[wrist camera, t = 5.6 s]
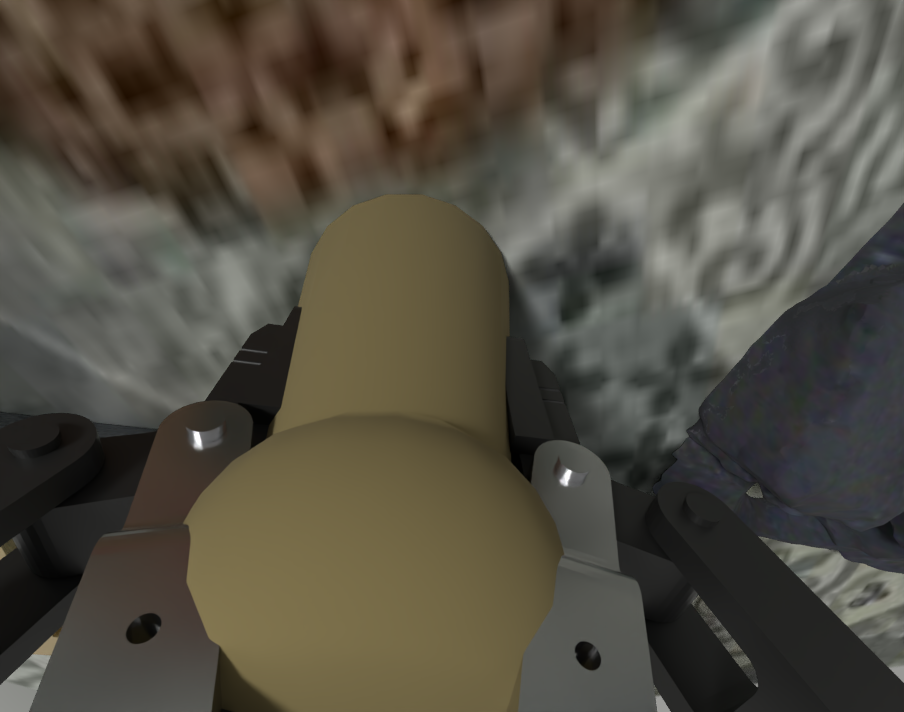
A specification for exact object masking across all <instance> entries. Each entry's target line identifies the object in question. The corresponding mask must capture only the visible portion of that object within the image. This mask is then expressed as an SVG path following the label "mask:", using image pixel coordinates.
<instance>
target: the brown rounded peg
mask: <svg viewBox="0 0 904 712" xmlns="http://www.w3.org/2000/svg"><path fill="white" fill-rule="evenodd" d="M298 307H302V311H301V316H300V320H299V325H298V330H297V335H296V339H295V344H294V349H293V353H292V358H291V363H290V368H289V372H288V377H287V382H286V387H285V391H284V396H283V401H282V405H281V408H280V410H279V411H278V413H277V414H276V416H275V417H274V419H273V420H272V422H271V423H270V424H269V428H268V432H267V436H266V439H265V440H264V441H263V442H261V443H260V444H258V445H256V446H255V447H253V448H252V449H250V450H249V451H247V452H246V453H244V454H243V455H241V456H239V457H238V458H236V459H235V460H233V461H232V462H231V463H230V464H229V465H228V466H227V467H226V468H225V469H224V470H223V471H222V472H221V473H220V474H219V475H218V477H217V478H216V479H215V480H214V481H213V482H212V483H211V484H210V485H209V486H208V487H207V488H206V489H205V490H204V491H203V492H202V493H201V494H200V496H199V497H198V499H197V501H196V502H195V504H194V505H193V507H192V508H191V510H190V512H189V513H188V515H187V517H186V519H185V520H184V522H183V524H187V525H188V526H189V531H190V536H191V542H190V552H189V562H188V571H187V580H186V582H187V585H188V587H189V590H190V592H191V595H192V597H193V600H194V602H195V605H196V607H197V610H198V612H199V615H200V617H201V620H202V622H203V625H204V627H205V630H206V632H207V635H208V637H209V639H210V640H212V641H213V642H215V643H216V644H218V645H219V646H220V680H221V694H222V707H221V708H222V709H225V710H229V711H233V712H507V707H508V705H509V702H510V699H511V695H512V692H513V689H514V685H515V682H516V678H517V675H518V671H519V668H520V664H521V661H522V657H523V653H524V652H525V650H526V649H527V647H528V645H529V644H530V642H531V640H532V639H533V637H534V636H535V634H536V632H537V631H538V629H539V627H540V626H541V624H542V623H543V621H544V619H545V618H546V616H547V614H548V613H549V611H550V610H551V608H552V606H553V599H554V590H555V581H556V572H557V567H558V564H559V561H560V560H561V556H562V555H564V551H563V547H562V544H561V540H560V537H559V534H558V530H557V527H556V524H555V522H554V520H553V518H552V516H551V515H550V513H549V511H548V510H547V508H546V506H545V505H544V503H543V501H542V499H541V498H540V496H539V494H538V493H537V491H536V489H535V488H534V487H533V486H532V485H531V484H530V482H529V481H528V480H527V479H526V478H525V477H524V476H523V475H522V474H521V473H520V472H519V471H518V469H517V468H516V467H515V466H514V465H513V464H512V463H511V452H510V443H509V429H508V416H507V402H506V388H505V380H506V337H507V336H509V337H510V332H509V280H508V277H507V273H506V269H505V265H504V262H503V258H502V254H501V252H500V250H499V249H498V247H497V246H496V245H495V243H494V242H493V240H492V239H491V237H490V236H489V234H488V233H487V231H486V230H485V228H484V227H483V226H482V225H481V224H479V223H478V222H477V221H475V220H474V219H473V218H471V217H470V216H469V215H467V214H466V213H465V212H463V211H462V210H461V209H459V208H458V207H457V206H455V205H452V204H449V203H446V202H443V201H440V200H437V199H434V198H431V197H428V196H425V195H383V196H380V197H377V198H374V199H372V200H369V201H366V202H363V203H360V204H357V205H354V206H352V207H351V208H350V209H349V210H347V211H346V212H345V213H344V214H342V215H341V216H340V217H339V218H337V219H336V220H335V221H334V222H332V223H331V224H330V225H329V226H327V228H326V230H325V231H324V233H323V235H322V236H321V238H320V240H319V241H318V243H317V245H316V247H315V248H314V250H313V252H312V253H311V257H310V261H309V265H308V269H307V273H306V277H305V281H304V285H303V289H302V293H301V297H300V301H299V305H298Z"/></svg>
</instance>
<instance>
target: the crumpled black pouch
mask: <svg viewBox="0 0 904 712" xmlns="http://www.w3.org/2000/svg"><path fill="white" fill-rule="evenodd" d="M699 414H700V417H701V418H700V419H699V420H698V422H697V423H696V424H695V425H693V426H692V427H690V428H689V429H688V430H686V431H687V432H688V434H689V436H690V437H689V438H686V440H685V441H684V443H683V444H682V446H681V447H680V448H679V449H677V450H676V451H675V452H674V453H672V454H673V456H674V457H675V458H677V459H678V460H677V461H676V462H675V463H674V464H673V465H672V466H671V467H670V468H668V469H667V470H666V471H665V472H664V473H663V475H662V479H661V480H660V481H659V482H657V483H655V484H654V486H653V491H654V493H655V494H657V493H658V491H659V489H660V488H661V487H662V486H663V485H665V484H667V483H670V482H685V483H689V484H692V485H695V486H698V487H700V488H702V489H704V490H706V491H708V492H710V493H711V494H713V495H715V496H716V497H717V498H719V499H720V500H721V501H722V502H723V503H725V504H726V505H727V506H728V507H729V508H730V509H731V510H732V511H733V512H734V513H735V514H736V515H737V516H738V517H739V518H740V519H741V520H742V521H743V522H744V523H745V524H746V525H747V526H748V527H749V528H750V529H751V530H752V531H753V532H754V533H755V534H756V535H757V536H761V537H766V538H770V539H774V540H778V541H782V542H787V543H791V544H801V545H806V546H811V547H817V548H826V549H829V550H838V551H839V552H840V553H841V555H842V556H843V557H844V558H845V559H847V560H850V561H852V562H858V563H863V564H867V565H868V566H871V567H874V568H877V569H880V570H884V571H888V572H896V573H903V574H904V203H903V204H902V206H901V207H900V208H899V209H898V211H897V212H896V213H895V214H894V215H893V217H892V218H891V219H890V220H889V221H888V222H887V223H886V224H885V225H884V226H883V227H882V228H881V229H880V230H879V231H878V232H877V233H876V234H875V235H874V236H873V237H872V238H871V239H870V240H869V241H868V242H867V243H866V244H865V245H864V246H863V247H862V248H861V249H860V250H859V252H858V253H857V254H856V255H855V256H854V257H853V258H852V259H851V260H850V261H849V263H848V264H847V265H846V266H845V267H844V268H843V269H842V270H841V271H840V272H839V273H838V274H837V275H836V276H835V277H834V278H833V280H832V281H831V282H830V283H829V284H828V285H827V286H825V287H823V288H821V289H820V290H818V291H817V292H815V293H814V294H813V295H811V296H810V297H808V298H807V299H805V300H803V301H801V302H799V303H797V304H796V305H794V306H793V307H792V308H790V309H788V310H787V311H786V312H785V313H783V314H782V315H781V316H780V317H779V318H778V319H777V320H776V321H775V322H774V324H773V325H772V326H771V327H770V328H769V329H768V330H767V331H766V332H765V333H764V334H763V335H762V336H761V337H760V338H759V339H758V340H757V341H756V342H755V343H754V344H753V345H752V346H751V347H750V348H749V349H748V351H747V352H746V354H745V355H744V356H743V358H742V359H741V360H740V361H739V362H738V363H737V364H736V365H735V366H734V368H733V369H732V370H731V371H730V372H729V373H728V375H727V376H726V377H725V378H724V379H723V380H722V381H721V382H720V383H719V384H718V385H717V386H716V388H715V389H714V390H713V391H712V392H711V393H710V394H709V395H708V396H707V398H706V399H705V400H704V402H703V403H702V405H701V406H700V408H699ZM757 482H758V483H759V485H760V488H761V491H762V494H763V496H764V498H753V497H750V496H749V495H747V494H746V492H747V491H748V490H749V489H750V488H751V487H752V486H753V485H754V484H755V483H757Z"/></svg>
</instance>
